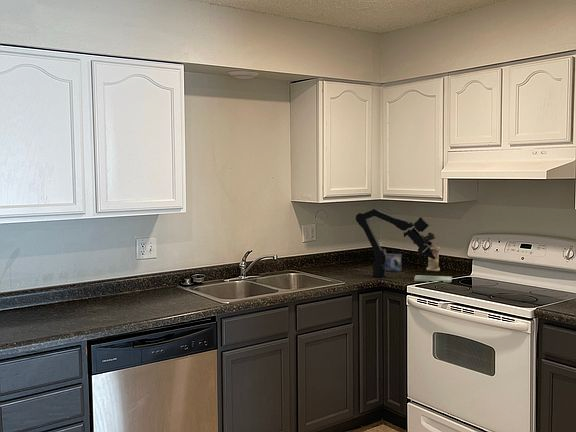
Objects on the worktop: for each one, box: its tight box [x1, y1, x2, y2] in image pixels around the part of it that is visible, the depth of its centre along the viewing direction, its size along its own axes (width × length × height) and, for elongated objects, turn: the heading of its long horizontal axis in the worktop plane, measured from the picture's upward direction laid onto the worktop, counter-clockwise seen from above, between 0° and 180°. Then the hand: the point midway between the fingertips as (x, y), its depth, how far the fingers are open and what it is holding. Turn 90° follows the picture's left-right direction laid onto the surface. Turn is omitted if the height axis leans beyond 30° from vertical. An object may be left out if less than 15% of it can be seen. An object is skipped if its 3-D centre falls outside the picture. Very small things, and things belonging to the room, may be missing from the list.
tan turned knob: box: [426, 245, 441, 272], centre depth 337 cm, size 7×7×13 cm
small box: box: [383, 252, 403, 273], centre depth 368 cm, size 11×6×10 cm, turn 76°
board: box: [414, 274, 453, 283], centre depth 338 cm, size 20×12×1 cm, turn 74°
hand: (435, 258), depth 336 cm, fingers closed on tan turned knob, 6 cm apart
